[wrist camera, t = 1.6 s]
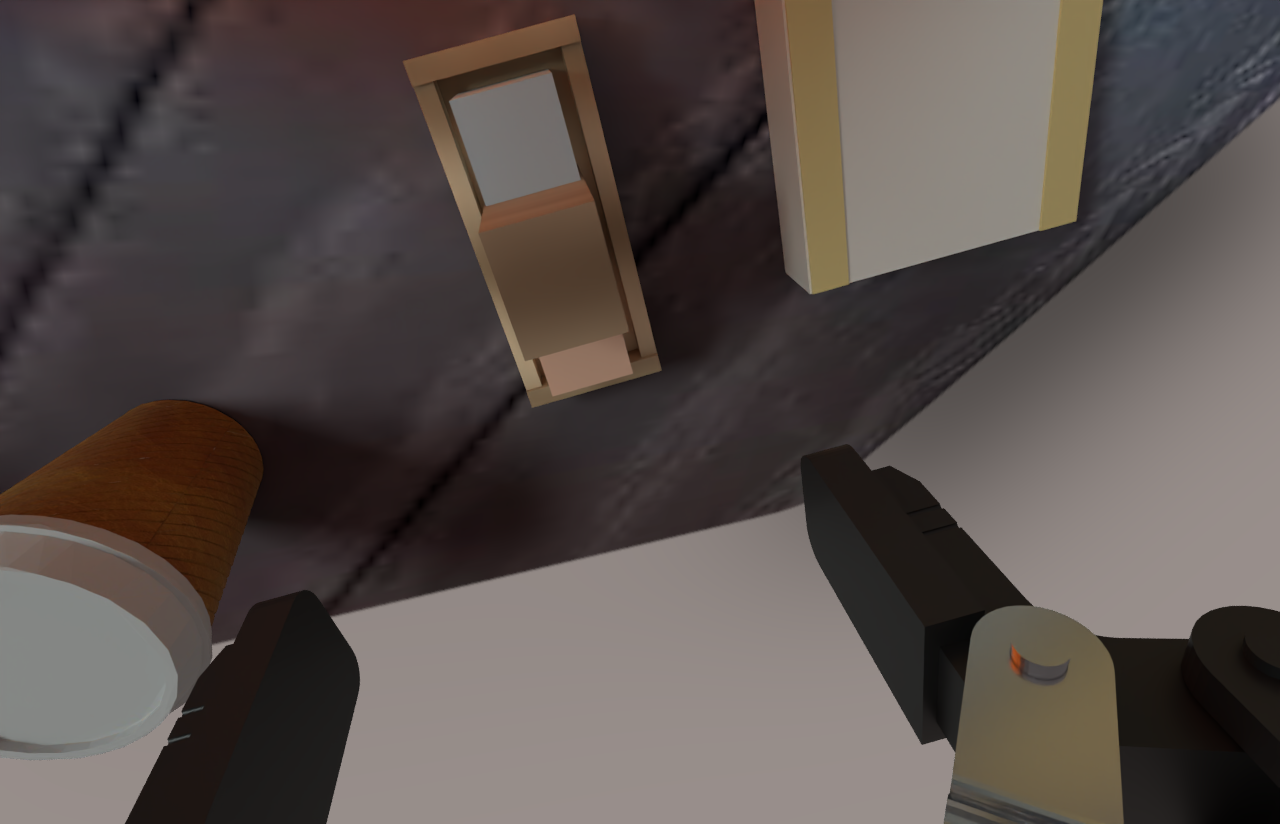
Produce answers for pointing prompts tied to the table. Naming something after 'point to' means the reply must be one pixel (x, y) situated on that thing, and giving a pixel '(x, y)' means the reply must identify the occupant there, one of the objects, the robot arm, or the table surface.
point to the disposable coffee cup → (118, 577)
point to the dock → (922, 126)
